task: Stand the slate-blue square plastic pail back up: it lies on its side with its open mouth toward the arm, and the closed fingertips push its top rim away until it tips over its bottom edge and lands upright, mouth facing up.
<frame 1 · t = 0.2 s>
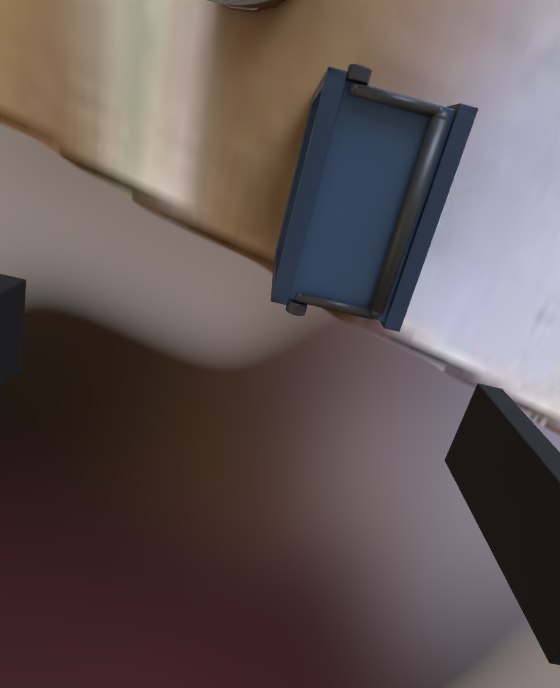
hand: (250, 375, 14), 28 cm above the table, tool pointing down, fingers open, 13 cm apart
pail: (268, 173, 39), on the table
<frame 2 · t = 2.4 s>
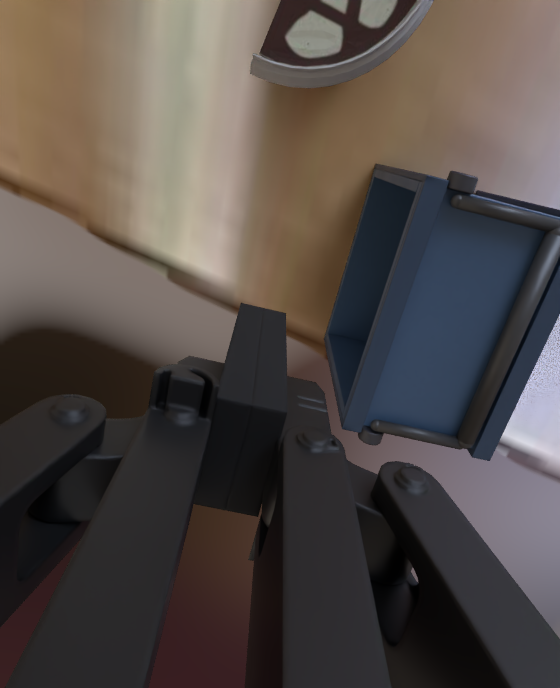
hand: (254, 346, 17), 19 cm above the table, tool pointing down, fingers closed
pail: (320, 250, 35), on the table
food container: (350, 11, 30), on the table
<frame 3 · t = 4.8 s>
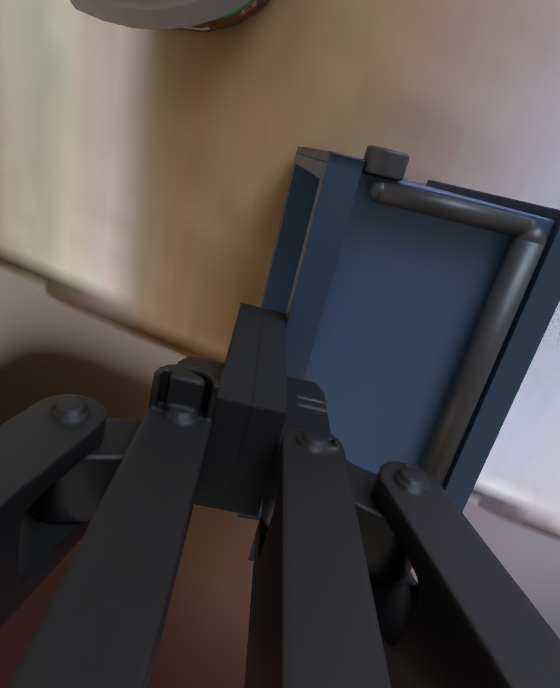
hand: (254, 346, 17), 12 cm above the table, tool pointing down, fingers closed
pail: (234, 258, 27), on the table, touching gripper
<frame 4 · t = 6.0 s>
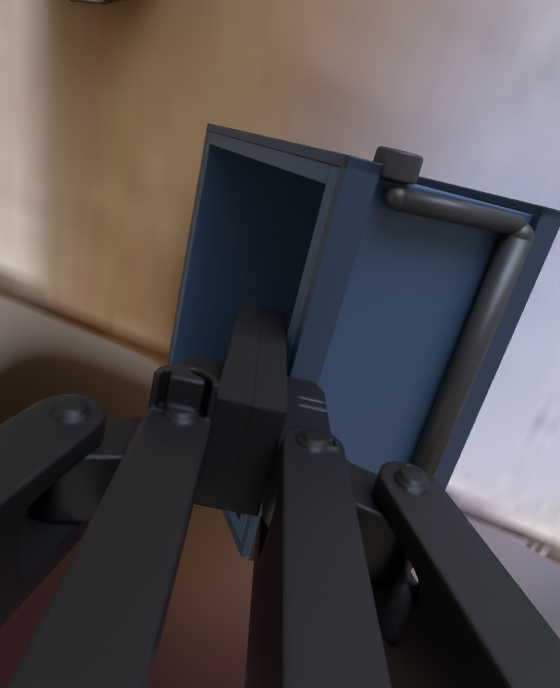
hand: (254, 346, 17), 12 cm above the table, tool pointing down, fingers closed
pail: (142, 255, 23), point 4 cm above the table, tilted 24°
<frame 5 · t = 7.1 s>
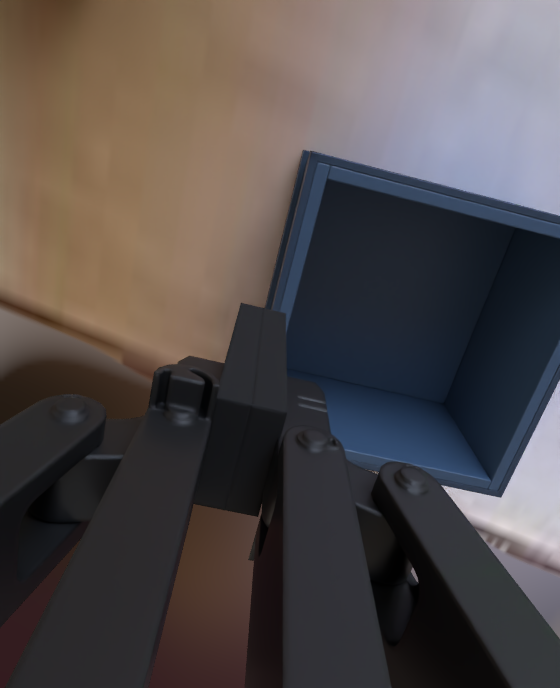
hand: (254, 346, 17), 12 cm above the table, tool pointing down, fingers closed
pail: (270, 329, 18), point 10 cm above the table, tilted 90°
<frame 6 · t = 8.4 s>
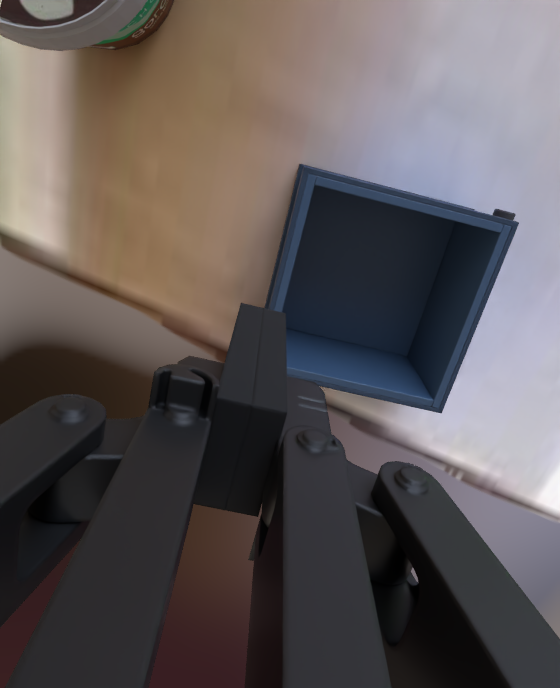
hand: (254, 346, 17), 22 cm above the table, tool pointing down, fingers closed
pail: (276, 284, 28), point 10 cm above the table, tilted 90°
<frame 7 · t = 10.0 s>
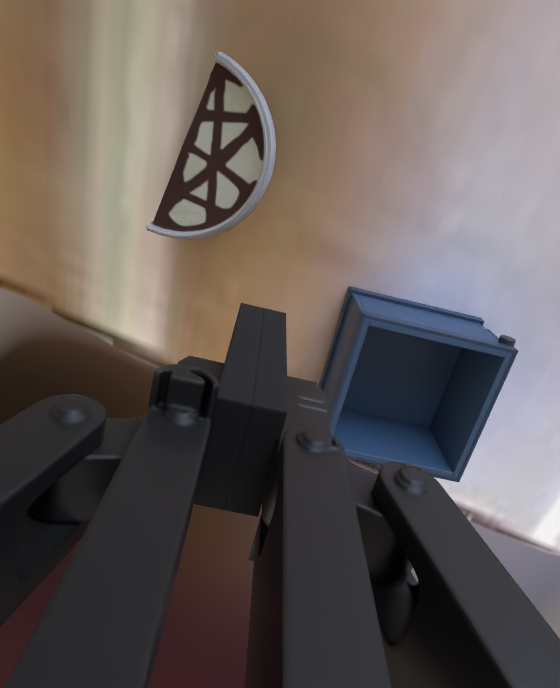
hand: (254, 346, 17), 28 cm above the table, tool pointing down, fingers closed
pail: (341, 398, 38), point 10 cm above the table, tilted 90°
food container: (236, 164, 41), on the table
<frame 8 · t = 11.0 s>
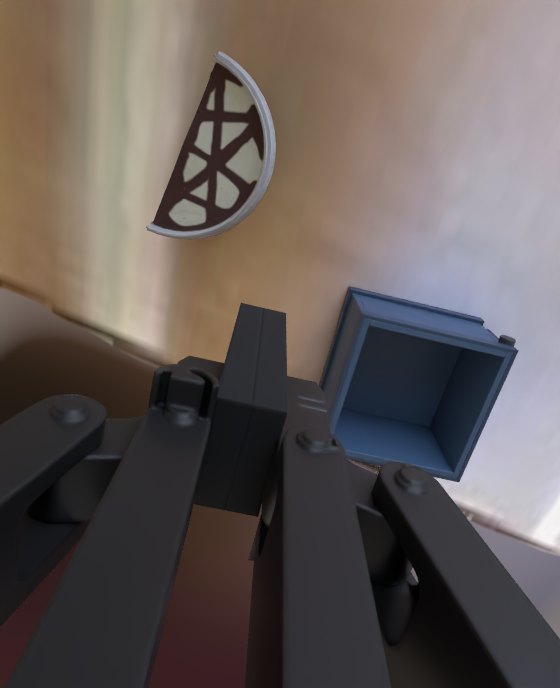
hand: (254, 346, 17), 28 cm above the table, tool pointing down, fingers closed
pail: (341, 398, 38), point 10 cm above the table, tilted 90°
food container: (236, 164, 41), on the table
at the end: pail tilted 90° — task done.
